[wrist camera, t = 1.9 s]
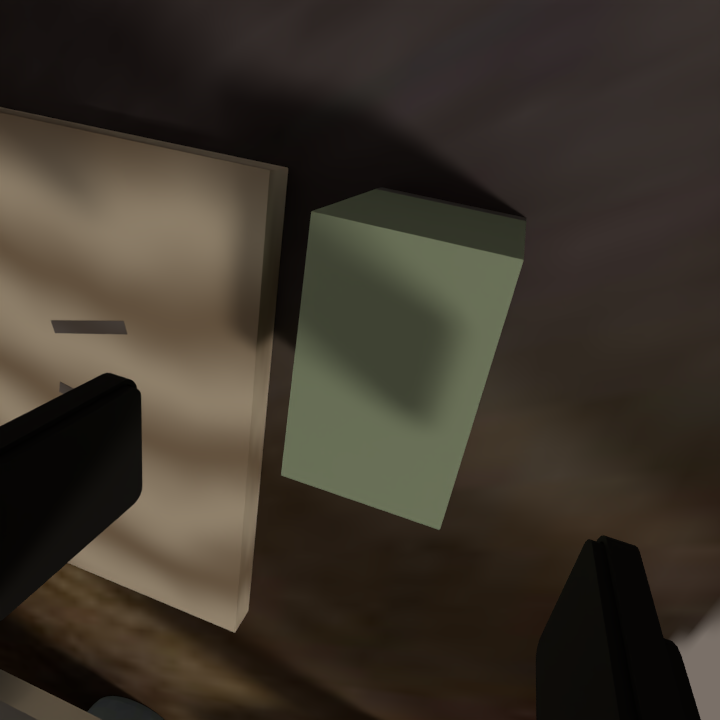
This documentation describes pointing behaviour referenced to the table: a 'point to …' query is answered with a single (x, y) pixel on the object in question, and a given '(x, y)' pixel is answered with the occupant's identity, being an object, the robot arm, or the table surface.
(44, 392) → the birch board
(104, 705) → the blue cup
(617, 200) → the table surface
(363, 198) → the block
